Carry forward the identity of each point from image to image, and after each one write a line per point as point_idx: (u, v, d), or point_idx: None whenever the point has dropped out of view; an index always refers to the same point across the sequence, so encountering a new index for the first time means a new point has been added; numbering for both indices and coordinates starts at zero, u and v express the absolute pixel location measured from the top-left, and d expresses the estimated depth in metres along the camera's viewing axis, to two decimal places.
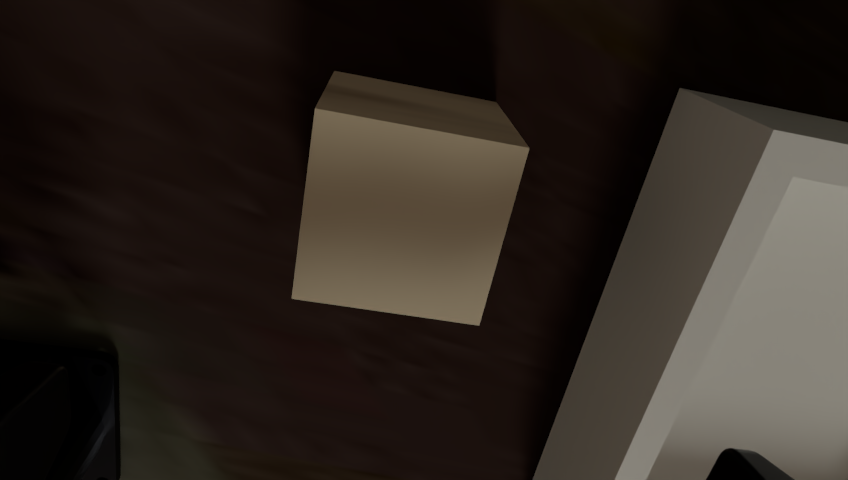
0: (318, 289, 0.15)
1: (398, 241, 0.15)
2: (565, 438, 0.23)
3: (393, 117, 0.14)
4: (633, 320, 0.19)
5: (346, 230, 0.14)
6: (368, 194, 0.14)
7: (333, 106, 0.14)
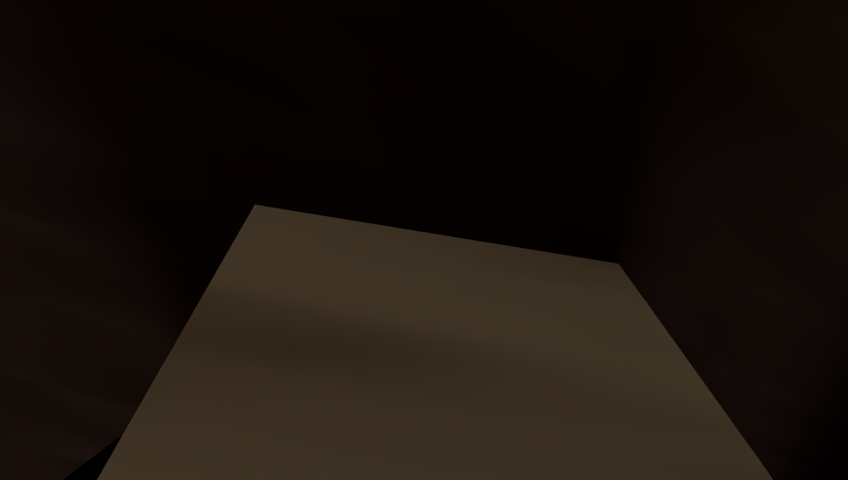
0: None
1: None
2: None
3: None
4: None
5: None
6: None
7: None
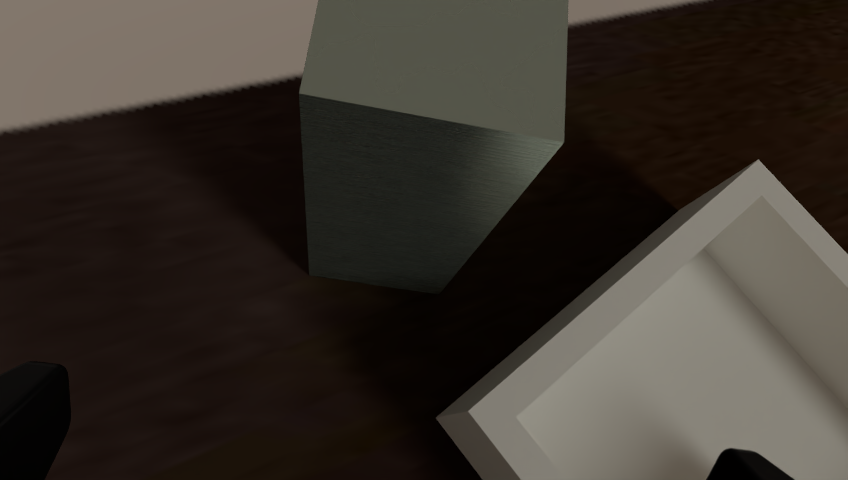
0: None
1: None
2: None
3: None
4: None
5: None
6: None
7: None
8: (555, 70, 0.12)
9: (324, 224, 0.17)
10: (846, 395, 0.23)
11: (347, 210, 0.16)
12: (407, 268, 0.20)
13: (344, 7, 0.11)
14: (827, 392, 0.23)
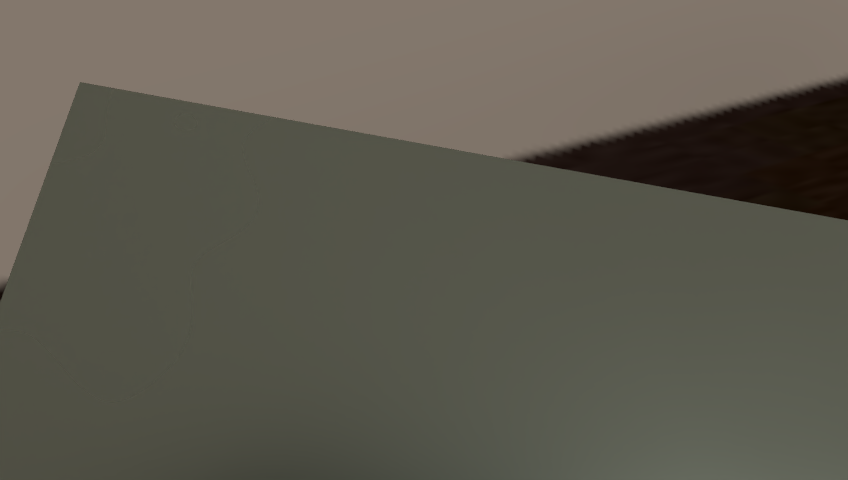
0: None
1: None
2: None
3: None
4: None
5: None
6: None
7: None
8: None
9: None
10: None
11: None
12: None
13: None
14: None
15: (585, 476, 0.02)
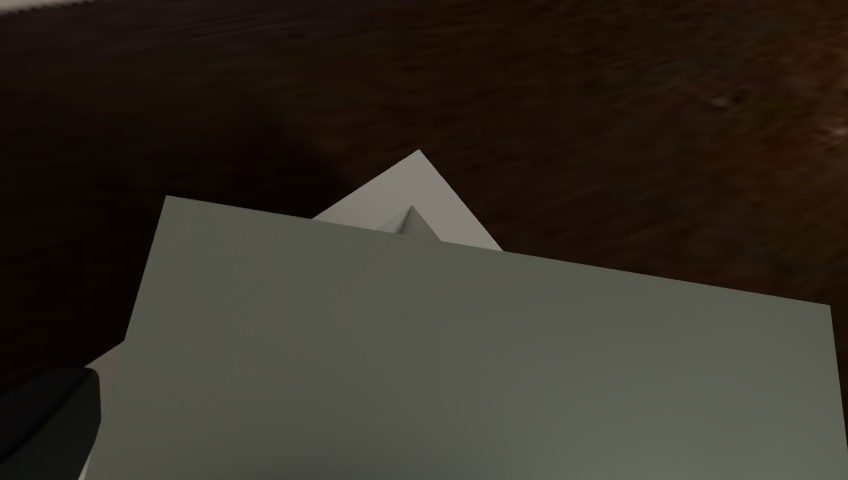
0: None
1: None
2: None
3: None
4: None
5: None
6: None
7: None
8: None
9: None
10: None
11: None
12: None
13: None
14: None
15: (493, 455, 0.04)
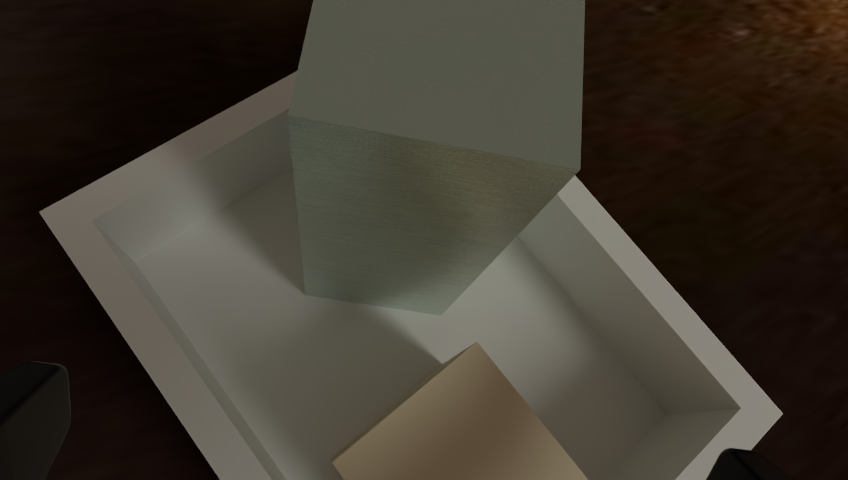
0: None
1: None
2: None
3: (385, 417, 0.16)
4: None
5: None
6: None
7: (343, 453, 0.16)
8: (570, 89, 0.11)
9: (319, 247, 0.16)
10: (537, 251, 0.23)
11: (343, 233, 0.15)
12: (408, 291, 0.19)
13: (339, 20, 0.10)
14: (524, 250, 0.23)
15: None
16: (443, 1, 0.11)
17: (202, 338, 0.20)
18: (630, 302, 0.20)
